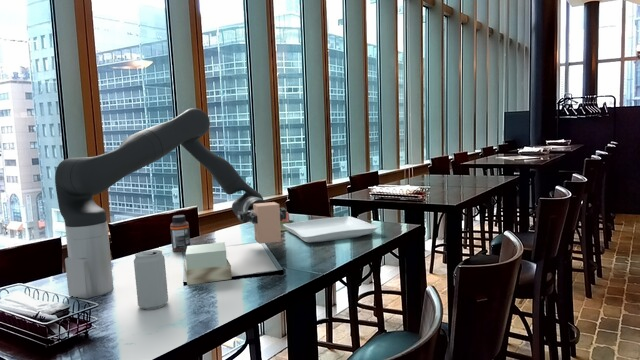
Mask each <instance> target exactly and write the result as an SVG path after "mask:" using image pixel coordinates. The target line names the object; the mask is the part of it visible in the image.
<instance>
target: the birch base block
mask: <svg viewBox="0 0 640 360" xmlns="http://www.w3.org/2000/svg"><path fill="white" fill-rule="evenodd" d="M184 272H185V279H187V280H186V284H187V286H190V285H199V284H204V283H212V282H217V281H219V282H220V281H227V280H233V279H232V266H231V263H230V261H229V259H227V266H219V267H210V268H201V269H192V270H187V266H186V260H184Z"/></svg>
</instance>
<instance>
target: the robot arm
mask: <svg viewBox="0 0 640 360" xmlns="http://www.w3.org/2000/svg"><path fill="white" fill-rule="evenodd" d="M210 125H211V120H210V118H209V115H208V114H207V113H206V112H205V111H203V110H202V109H200V108H196V107H194V108H193V107H192V108H188V109H186V110H185V111H183V112H182V113H181V114H178V115H177V116H175V117H174V118H172V119H170V120H167V121H165V122H162V123H158V124H155V125H153V126H150V127H147V128H145V129H142V130H140V131H137V132H134V133H132V134H131V135H129V136H127V137H126V138H124V139H123V141H122V142H121V143H120V144H119V146H118V147H116V148H115V149H114V150H111V151H109V152H105V153H102V154H99V155H96V156H88V157H87V156H86V157H69V158H66V159H63V160H61V162H60V163H59V164H58V165H57V167H56V169H55V173H54V174H55V175H54V184H55V192H56V198H57V204H58V209H59V213H60V215H61V217H62V219H63V220H64V221H63V222H64V227H65V235H66V236H65V238H66V246H67V247H66V248H67V256H68V257H66V258H65V259H64V263H65V274H66V281H67V290H68V291H67V293H68V297H69V296H73V297H72V298H76V297H78V299H91V298H95V297H99V296H103V295H106V294H108V293H111V292H112V291H113V290H114V288H115V287H114V279H113V277H114V276H113V268H112V259H111V249H110V239H109V237H110V236H109V227H108V217H107V212H106V210H105V209H104V208H103V207H101V206H99V205H98V204H97V203H96V202H95V201H94V197H93V196H97V195H99V194H101V193H103V192H105V191H106V190H108V189H109V188H111V187H112V186H114V185H115V184H117V183H118V182H119V181H120V180H122V179H123V178H125V177H127V176H128V175H130V174H133V173H134V172H137V171H140V170H141V169H143V168H145V167H147V166H149V165H152V164H153V163H155V162H157V161H160V159H162V158H164V157H165V156H166V155H168V154H170V153H171V152H172V151H173V150H175V149H176V148H177V147H179V146H180V145H181V146H182V147H183V148H184V149H185V151H187V152H188V153H189V154H190V155H191V156H192V157H193V158H194V159H196V161H198V162H199V164H201V165H202V166H203V167H204V168H205V169H206V171H208V173H209V174H210V175H211V176H212V177H213V178H214V180H215V181H216V183H217V184H218V185H219V186H220V187H221V189H222V190H223V191H224V193H225V194H227V195H228V196H231V195H234V194H236V193H237V192H244V193H243V194H241V196H239V197H238V198H237V199H235V200H234V201H233V202H232V205H231V209H232V212H233V214H234V215H235V216H236V217H237V220H238V222H239V221H240V222H242V223H244V224H245V223H246V224H247V223H248V221H249V223H252V224H253V225H254V223H255V224H257V223H258V219H257V215H256V214H254V211H253V204H257V203H269V202H268V201H266V200H265V199H264V198H263V196H262V194H260V193H259V192H258V191H257V190H256V189H254V188H253V187H252V186H250V185H249V184H248V183H247V182H246V181H245V180H244V179H243V178H242V177H241V175H240V174H239V173H238V172H237V170H236V168H235V167H234V166H233V165H232V164H231V163H230V161H227V160H226V159H225V158H223V157H222V156H219V155H218V154H215V153H214V152H212V151H211V150H210V149H208V148H207V147H206V146H205V145H204V144H203V143H202V142H201V141H200V138H202V137H203V136H204V135H207V133H208V131H209V129H210ZM279 208H280V221H282V220H283V219H286V218H287V217H286V212H287V209H286V208H285V207H283V206H281V207H279Z"/></svg>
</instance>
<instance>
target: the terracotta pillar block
mask: <svg viewBox="0 0 640 360" xmlns="http://www.w3.org/2000/svg"><path fill="white" fill-rule="evenodd" d="M280 208H281V207H280V203H277V202H275V201H272V202H271V201H270V202H268V203H257V204H253V211H254V214H256V215H257V219H258V223H257V224H255V223H254V224H253V227H254V228H253V229H254V240H255V241H256V242H257V243H258V244H261V245H262V244H269V243H279V242H282V233H281V231H282V230H281V228H280Z"/></svg>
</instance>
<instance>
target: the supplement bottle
mask: <svg viewBox="0 0 640 360" xmlns="http://www.w3.org/2000/svg"><path fill="white" fill-rule="evenodd" d="M189 225H190V224H189V222H188V221H186V215H184V214H178V215H177V214H176V215H173V216H172V222H171V223H170V225H169V226H170V227H169V228H170V230H169V231H170V238H171V249H172V251H174V252H184V251H185V252H186V250H187V246H191V236H190V234H191V233H190V226H189Z"/></svg>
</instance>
